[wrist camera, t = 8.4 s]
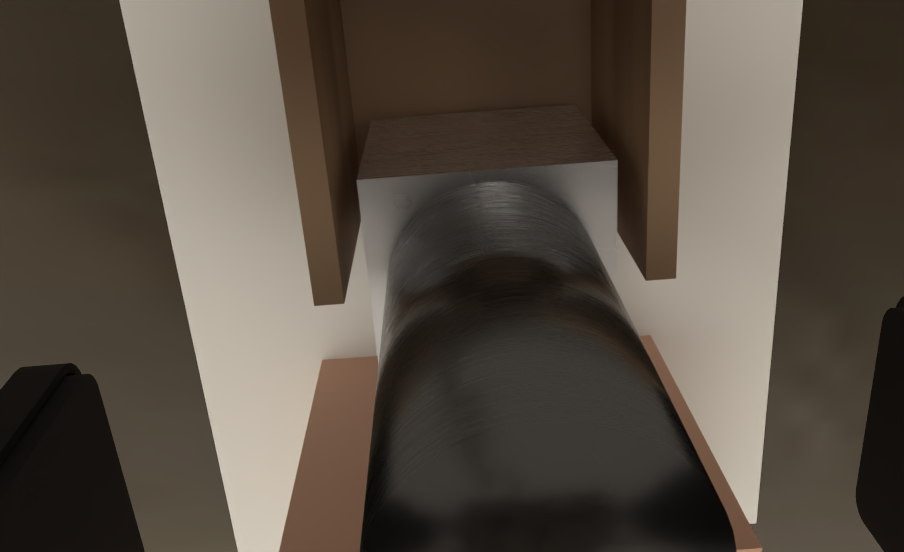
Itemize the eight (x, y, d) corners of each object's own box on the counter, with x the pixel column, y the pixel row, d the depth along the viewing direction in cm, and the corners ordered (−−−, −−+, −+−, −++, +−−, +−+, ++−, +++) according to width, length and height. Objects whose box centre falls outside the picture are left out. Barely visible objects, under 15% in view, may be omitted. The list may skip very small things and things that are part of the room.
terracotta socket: (321, 360, 21) (271, 585, 14) (650, 334, 21) (762, 547, 14) (348, 533, 23) (314, 803, 16) (646, 510, 23) (741, 771, 16)
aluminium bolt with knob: (371, 119, 18) (296, 422, 7) (575, 104, 18) (786, 385, 7) (413, 511, 22) (404, 1063, 11) (580, 498, 22) (720, 1038, 11)
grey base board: (71, -305, 16) (50, -317, 15) (813, -361, 16) (837, -378, 15) (247, 537, 24) (240, 562, 23) (743, 499, 24) (756, 523, 23)
